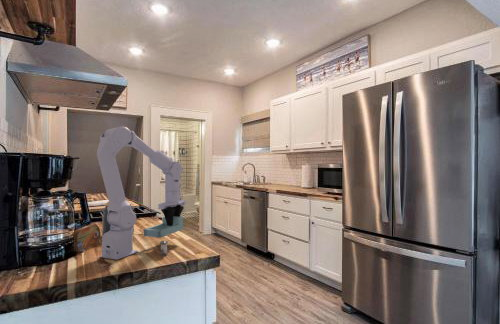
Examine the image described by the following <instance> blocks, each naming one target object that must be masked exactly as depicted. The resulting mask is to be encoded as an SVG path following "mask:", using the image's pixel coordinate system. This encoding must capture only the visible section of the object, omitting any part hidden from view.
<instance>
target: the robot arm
mask: <svg viewBox="0 0 500 324" xmlns="http://www.w3.org/2000/svg"><path fill="white" fill-rule="evenodd" d="M99 139H100V140H99V143H98V147H97V150H96V157H97V161H98V164H99V169H100V172H101V176H102V179H103V181H102V182H103V183H104V187H105V192H106V196H107V199H108V202H109V205H108V207H107V210H108V215H107V221H108V223H109V224H110V225H111V226H110V231H108V232H106V233H105V234H104V235H102V237H101V255H99V256H100V258H104V259H111V260H120V259H123V258H125V257H128V256H130V255H131V256H132V255H133V254H136V253H139V250H136V249H134V248H133V246H134V245H133V242H134V241H133V239H134V238H133V235H134V233H133V226H135V225H136V223H137V215H136V213H135V212H134V210H133V211H132V209H131V206H132V205H131V206H130V204H129V203H128V202H127V201H126V200H127V198H126V195H125V190H124V187H123V182H122V178H121V175H120V174H121V173H120V170H119V166H118V164H117V163H118V162H117V158H116V156H117V155H118V153H119V152H120V150H121V149H122V148H124V147H132V148H133V149H135V151H136V150H137V151H139V153H140V154H142V155H144V156H146V157H147V158H148V160H149V162H150V163H151V164H152V165H154V166H156V167H157V168H158V169H160V171H161V172H162V173H163V175H164V185H165V186H164V189H165V190H164V191H165V193H164V195H165V197H164V198H165V199H164V202H161V203H159V204H157V205H158V210H161V212H162V213H163V217H165V219H166V223H167V226H172V225H173V216H178V217H181V214H182V212H183V211H184V207H185V205H186V200H185V199H181V197H180V196H181V193H180V192H181V190H180V187H181V176H182V173H183V170H184V168H183V166H182V165H181V163H180V162H178V161H175V160H174V159H173V158H172V157H170V156H168V155H166V154H165V151H164V150H159V149H157V150H155V149H153V148H152V147H151V146H150V145H149V144H147V143H146V142H145V141H144V140H142V139H141V138H140V137H139V136H137V134H136V133H135V131H133V130H130V128H128V127H126V126H125V125H123V126H117V127H114V128H108V129H106V130H104V132H102V133H101V135H100V136H99Z"/></svg>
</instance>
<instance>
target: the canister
mask: <svg viewBox="0 0 500 324" xmlns="http://www.w3.org/2000/svg"><path fill="white" fill-rule="evenodd" d="M126 201H127V202H128V203H129V204H130V206H131V209H132V211H133V212H134V210H135V207H133V203H132V202H131V201H130V200H128V199H126ZM108 205H109V201H107V202H106V203H104V208H103V209H102V210H101V212H103V213H102V214H103V216H102V217H101V219H102V230H101V234H102V236H103V235H104V234H105V233H106V232H108V231H110V226H111V225H110V224H109V223H108V221H107V215H108V210H107V207H108ZM134 226H135V225H134ZM134 226H133V234H134V232H135V227H134Z"/></svg>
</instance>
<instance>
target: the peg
mask: <svg viewBox="0 0 500 324" xmlns="http://www.w3.org/2000/svg"><path fill="white" fill-rule="evenodd" d="M159 243H160V256H162V257H167V256H168V243H169V241H167V240H162V241H160V242H159Z"/></svg>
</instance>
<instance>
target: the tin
mask: <svg viewBox="0 0 500 324" xmlns="http://www.w3.org/2000/svg"><path fill="white" fill-rule="evenodd" d="M71 236H73V237H74V240H75V247H76V251H77V252H76V253H84V251H85V252H86V251H89V250H90V249H92V248H95V247H96V246H97V245H99V242H100V240H101V230H100V227H99V225H97V224H89V225H86V226H82V227H80V228H77V229H75V230H74V232H72V234H71Z"/></svg>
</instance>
